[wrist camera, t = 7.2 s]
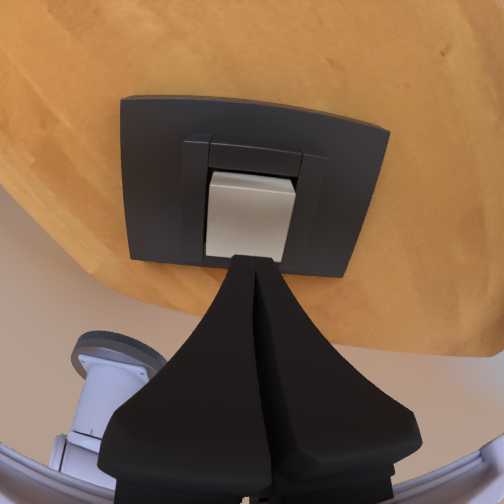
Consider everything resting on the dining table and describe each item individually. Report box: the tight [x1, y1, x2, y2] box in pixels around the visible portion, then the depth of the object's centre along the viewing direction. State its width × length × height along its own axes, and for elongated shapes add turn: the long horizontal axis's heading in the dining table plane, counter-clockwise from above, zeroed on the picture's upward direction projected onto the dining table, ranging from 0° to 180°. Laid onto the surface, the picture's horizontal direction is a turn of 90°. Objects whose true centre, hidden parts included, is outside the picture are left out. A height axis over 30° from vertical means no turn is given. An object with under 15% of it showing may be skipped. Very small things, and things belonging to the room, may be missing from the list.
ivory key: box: [206, 171, 296, 262], centre depth 13 cm, size 4×4×2 cm
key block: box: [120, 95, 390, 278], centre depth 15 cm, size 10×14×4 cm
